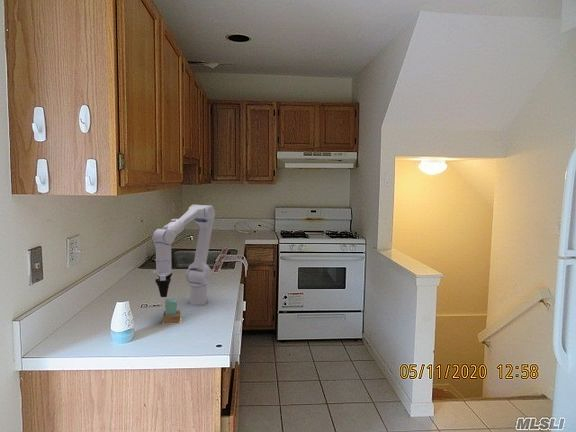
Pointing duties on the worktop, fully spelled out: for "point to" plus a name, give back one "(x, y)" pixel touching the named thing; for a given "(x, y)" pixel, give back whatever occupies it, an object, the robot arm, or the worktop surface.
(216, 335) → the worktop surface
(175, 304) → the teal block
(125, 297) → the worktop surface
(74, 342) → the worktop surface
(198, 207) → the robot arm
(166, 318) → the walnut slab
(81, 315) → the worktop surface
